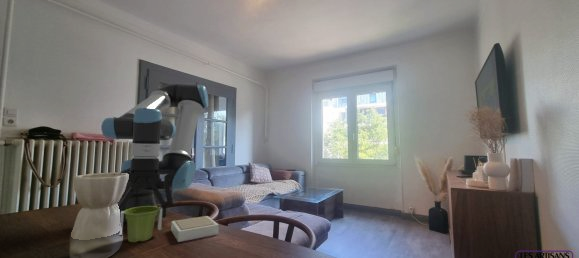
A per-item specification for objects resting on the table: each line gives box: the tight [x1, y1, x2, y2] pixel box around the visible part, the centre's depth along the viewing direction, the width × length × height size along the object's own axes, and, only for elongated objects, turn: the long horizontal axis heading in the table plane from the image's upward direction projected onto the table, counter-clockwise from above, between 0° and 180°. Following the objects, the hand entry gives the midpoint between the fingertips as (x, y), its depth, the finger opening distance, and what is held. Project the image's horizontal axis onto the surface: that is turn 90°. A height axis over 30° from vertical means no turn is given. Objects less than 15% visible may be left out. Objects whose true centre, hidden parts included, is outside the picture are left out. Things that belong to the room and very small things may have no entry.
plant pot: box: [124, 205, 160, 243], centre depth 73 cm, size 9×9×9 cm
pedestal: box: [170, 215, 220, 243], centre depth 79 cm, size 12×12×3 cm
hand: (140, 231), depth 72 cm, fingers closed on plant pot, 9 cm apart
